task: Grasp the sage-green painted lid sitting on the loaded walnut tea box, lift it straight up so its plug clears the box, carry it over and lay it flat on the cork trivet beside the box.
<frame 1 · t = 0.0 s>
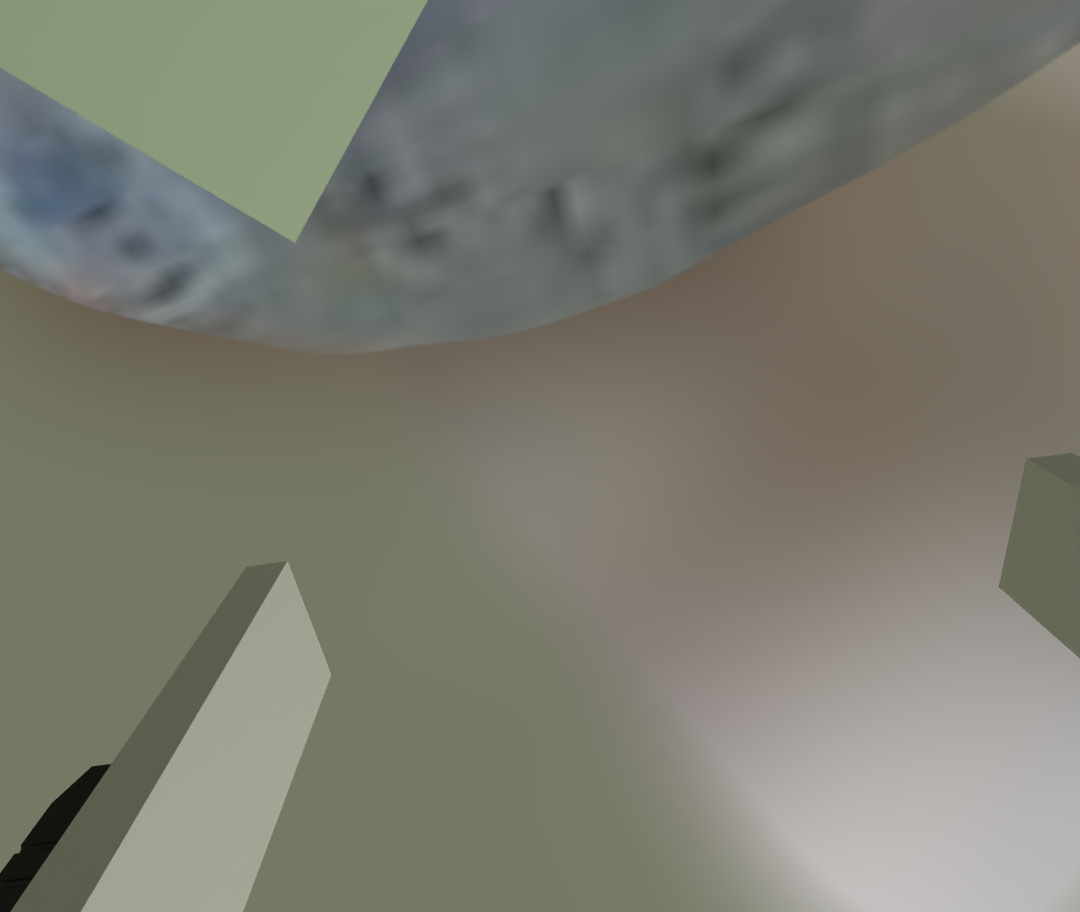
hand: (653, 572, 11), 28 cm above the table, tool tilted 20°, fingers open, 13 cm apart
lid: (227, 3, 20), point 9 cm above the table, touching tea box
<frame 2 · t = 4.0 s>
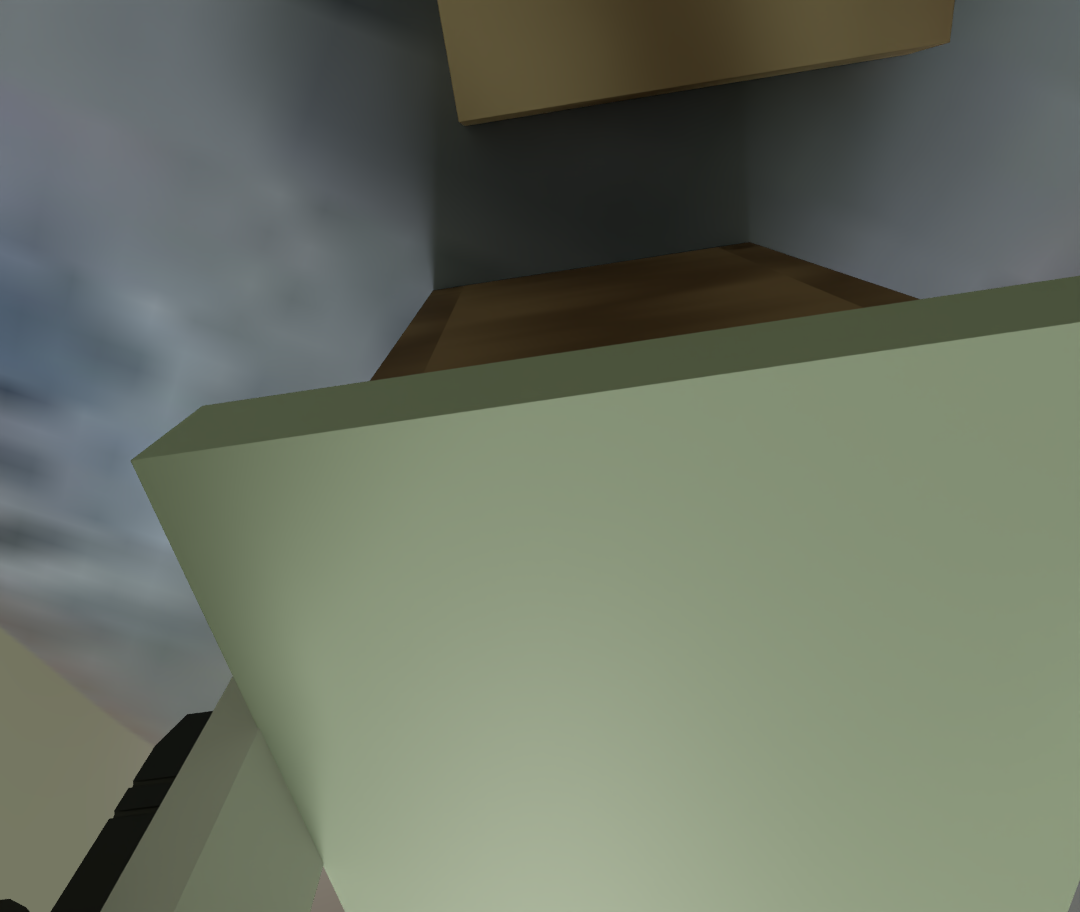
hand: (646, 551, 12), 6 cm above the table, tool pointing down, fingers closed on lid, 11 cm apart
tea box: (607, 430, 17), on the table
lid: (683, 662, 9), point 9 cm above the table, touching gripper, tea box
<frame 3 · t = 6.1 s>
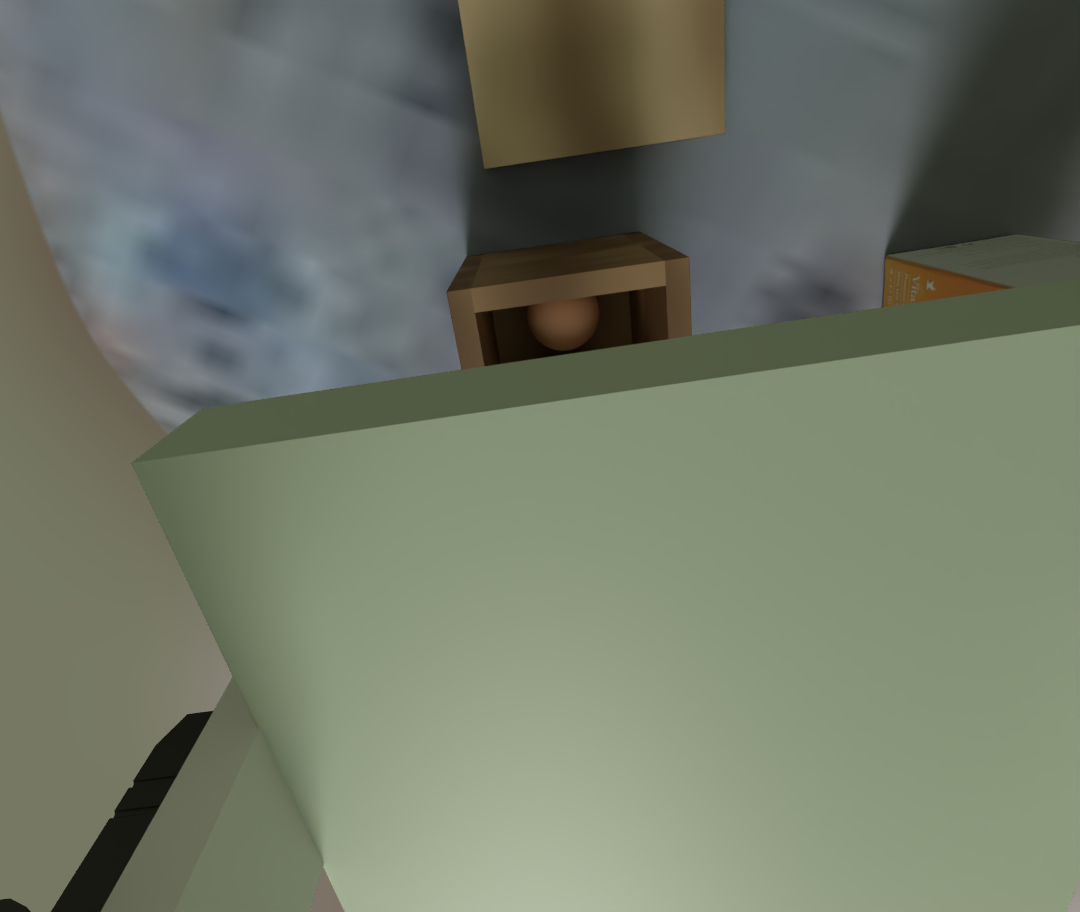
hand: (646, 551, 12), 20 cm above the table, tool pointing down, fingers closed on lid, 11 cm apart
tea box: (564, 340, 30), on the table
lid: (682, 663, 9), point 23 cm above the table, touching gripper
ball a: (560, 306, 29), point 1 cm above the table, touching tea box
small box: (936, 326, 31), on the table
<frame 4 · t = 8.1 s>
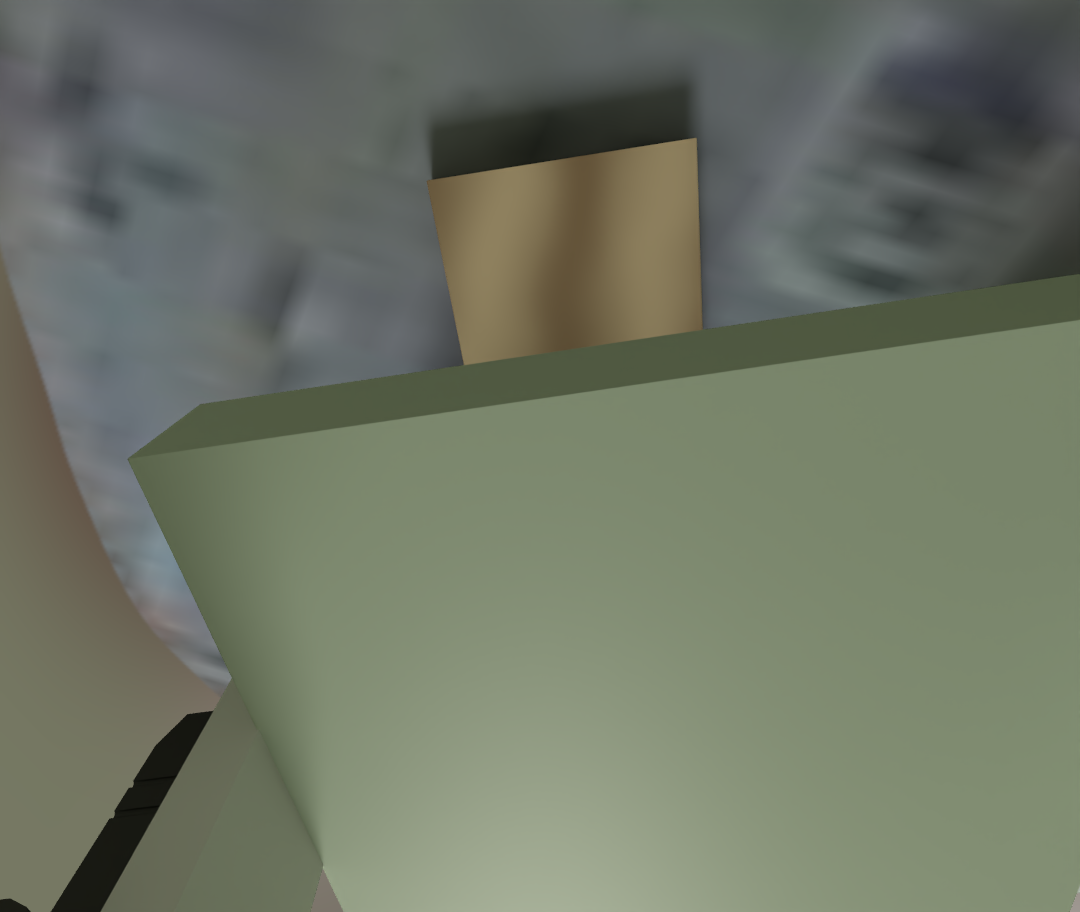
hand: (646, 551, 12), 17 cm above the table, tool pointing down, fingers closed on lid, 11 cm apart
trivet: (579, 335, 27), on the table
lid: (683, 662, 9), point 20 cm above the table, touching gripper
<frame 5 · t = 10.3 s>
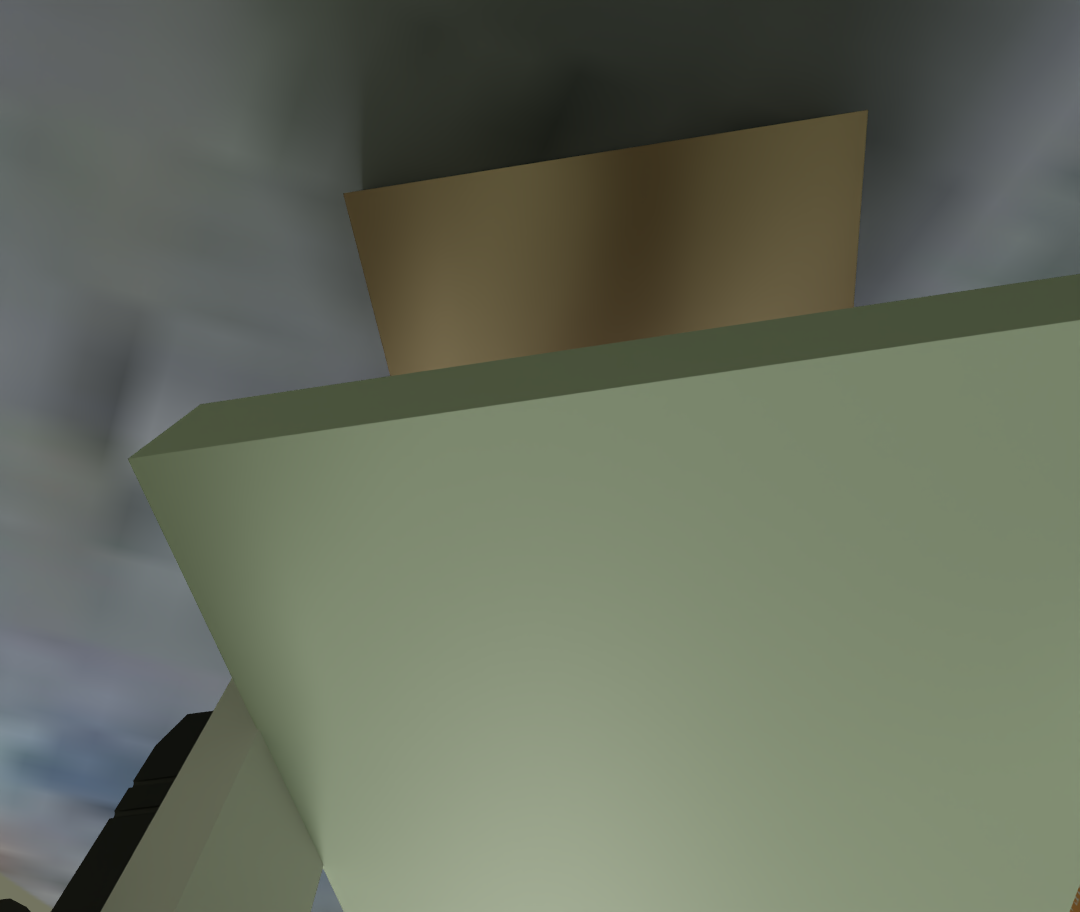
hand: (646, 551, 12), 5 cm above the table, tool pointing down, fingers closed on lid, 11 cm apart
trivet: (621, 450, 16), on the table
lid: (683, 662, 9), point 8 cm above the table, touching gripper
when the fingers open (1 cm above the table, at t = 12.1 s): lid stays where it is, resting on trivet.
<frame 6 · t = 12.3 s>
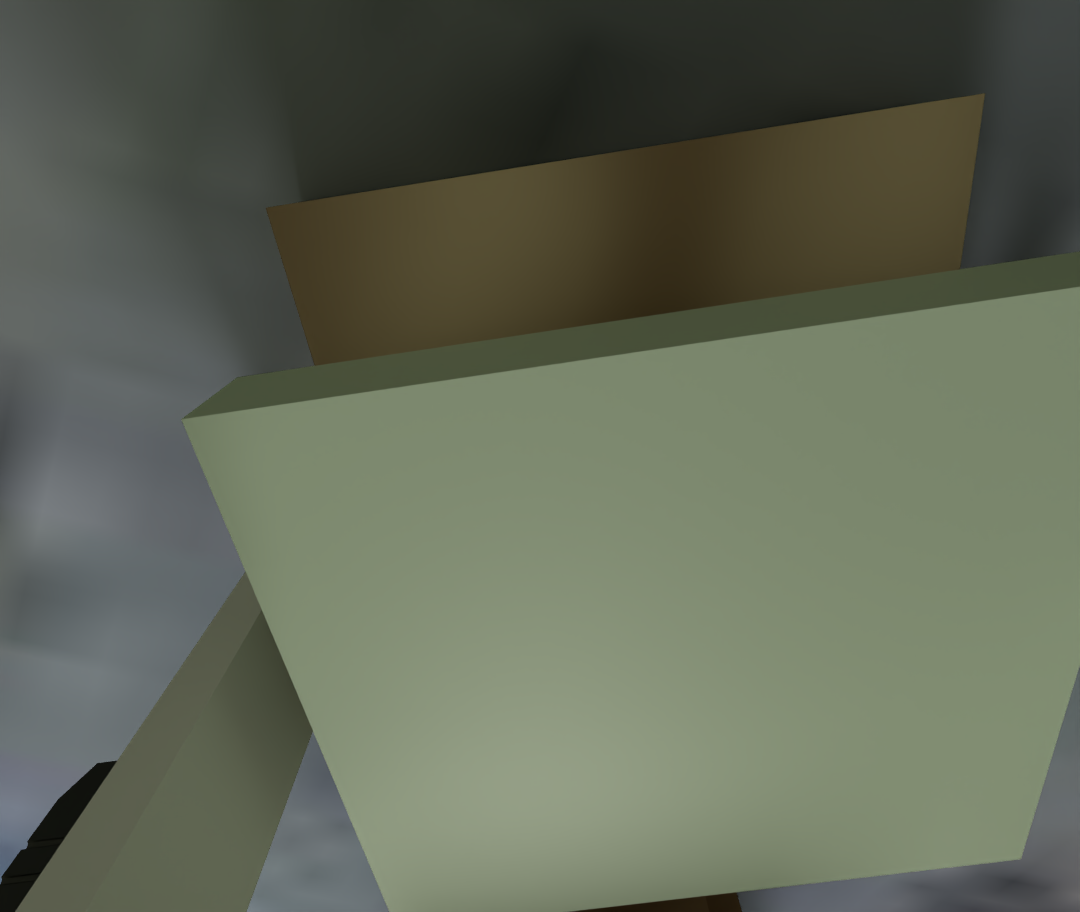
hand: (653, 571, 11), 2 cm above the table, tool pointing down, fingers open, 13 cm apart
trivet: (637, 524, 13), on the table
lid: (670, 617, 10), point 3 cm above the table, touching trivet
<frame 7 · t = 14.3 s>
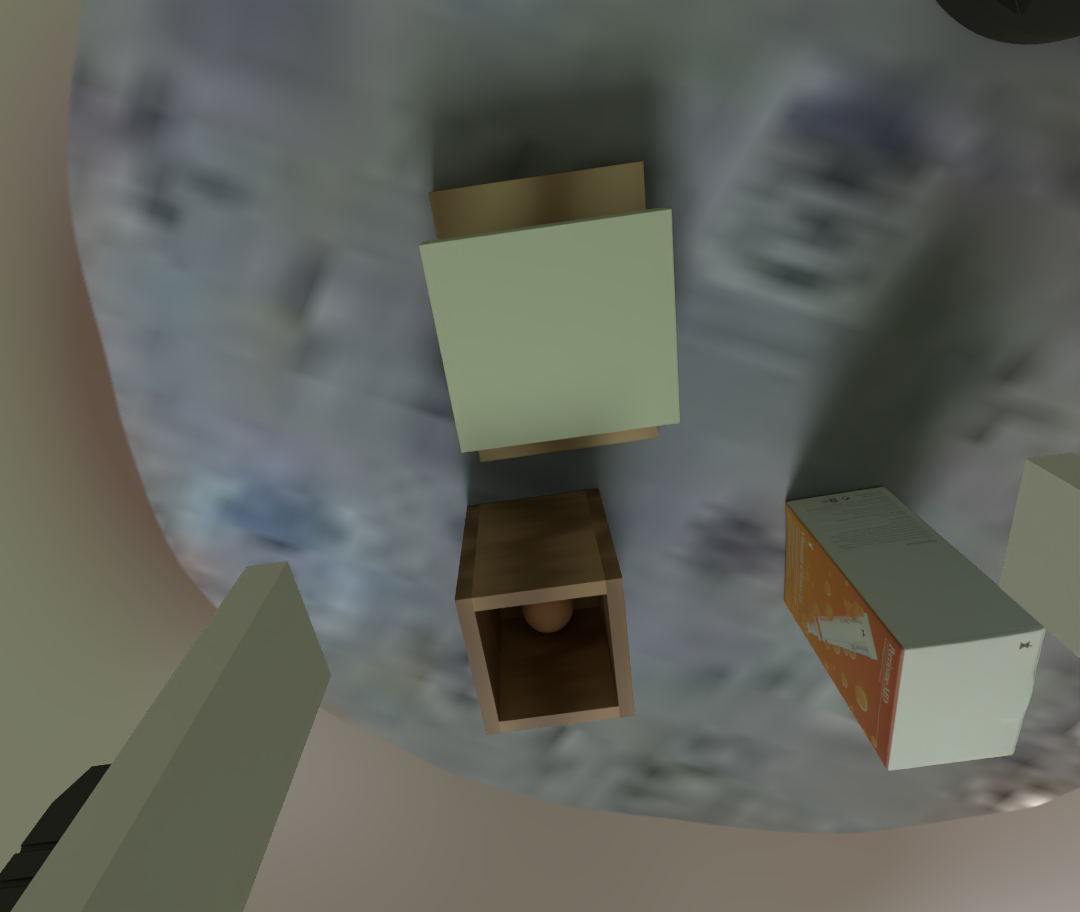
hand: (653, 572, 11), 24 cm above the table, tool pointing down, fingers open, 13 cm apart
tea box: (542, 558, 39), on the table
trivet: (552, 319, 33), on the table
lid: (556, 332, 30), point 3 cm above the table, touching trivet
ball b: (546, 589, 39), point 1 cm above the table, touching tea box
small box: (829, 544, 40), on the table
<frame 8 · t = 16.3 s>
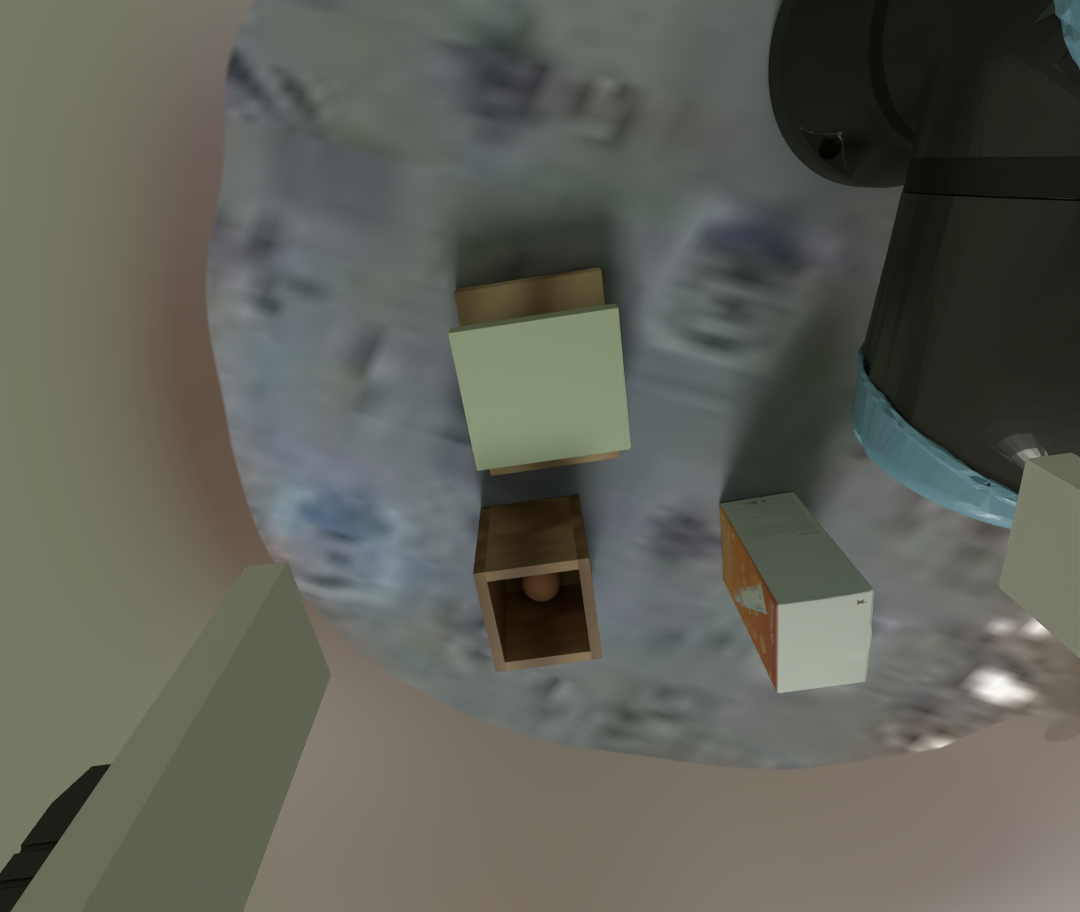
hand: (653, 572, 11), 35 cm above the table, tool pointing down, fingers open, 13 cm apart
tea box: (537, 547, 52), on the table
trivet: (541, 374, 46), on the table
lid: (543, 386, 43), point 3 cm above the table, touching trivet
ball b: (540, 570, 52), point 1 cm above the table, touching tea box
small box: (755, 535, 53), on the table
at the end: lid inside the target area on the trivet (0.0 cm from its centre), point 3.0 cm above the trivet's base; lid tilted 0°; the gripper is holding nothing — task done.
